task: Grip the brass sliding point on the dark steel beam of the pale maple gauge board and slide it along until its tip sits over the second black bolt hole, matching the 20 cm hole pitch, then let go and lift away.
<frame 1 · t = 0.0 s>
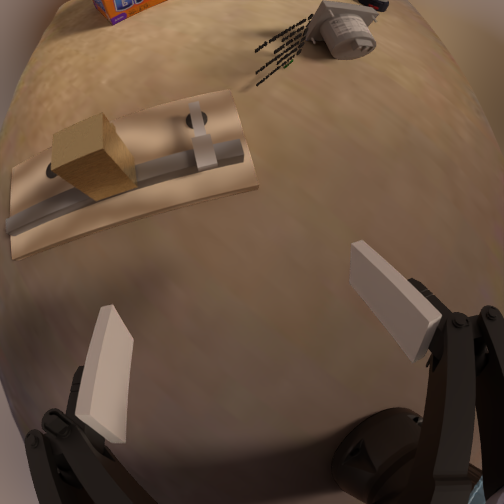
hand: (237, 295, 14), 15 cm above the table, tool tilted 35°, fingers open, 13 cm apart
humidifier: (370, 3, 39), on the table
game box: (135, 0, 34), on the table
gauge board: (109, 173, 29), on the table
brass sliding point: (100, 145, 22), point 7 cm above the table, slide at 0.0 cm
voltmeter: (309, 61, 34), on the table
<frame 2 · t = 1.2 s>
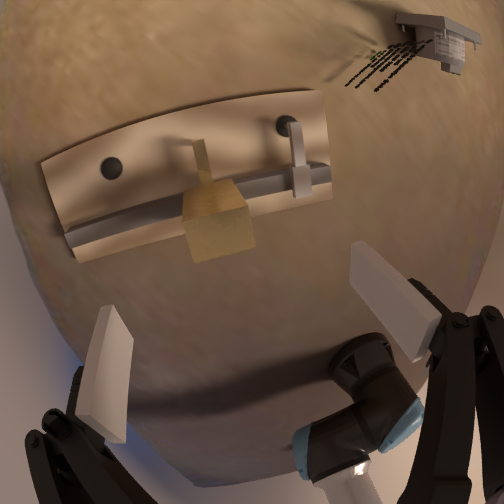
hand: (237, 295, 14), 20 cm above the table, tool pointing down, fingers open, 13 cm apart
gauge board: (186, 170, 30), on the table
brass sliding point: (208, 187, 24), point 7 cm above the table, slide at 0.0 cm
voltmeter: (393, 51, 27), on the table
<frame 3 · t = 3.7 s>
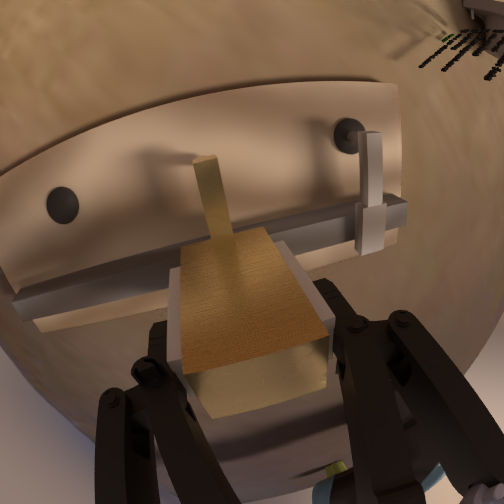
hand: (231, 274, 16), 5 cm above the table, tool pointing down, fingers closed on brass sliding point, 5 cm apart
plant pot: (333, 463, 68), on the table
gauge board: (184, 204, 18), on the table
brass sliding point: (228, 258, 13), point 7 cm above the table, slide at 0.0 cm, touching gripper
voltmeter: (462, 39, 15), on the table
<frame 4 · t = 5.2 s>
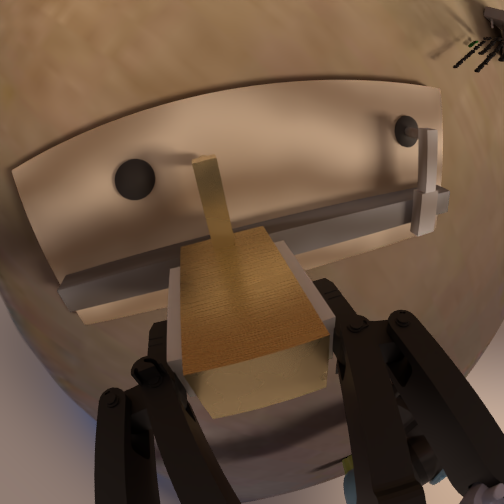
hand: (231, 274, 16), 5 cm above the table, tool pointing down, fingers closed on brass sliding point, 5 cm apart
plant pot: (349, 456, 69), on the table
gauge board: (262, 185, 19), on the table
brass sliding point: (228, 258, 13), point 7 cm above the table, slide at 5.6 cm, touching gripper
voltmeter: (483, 45, 15), on the table
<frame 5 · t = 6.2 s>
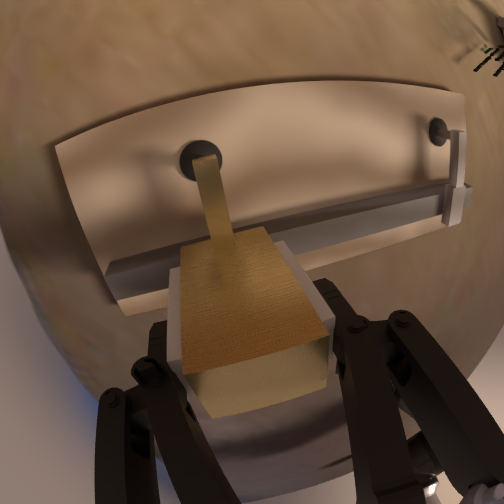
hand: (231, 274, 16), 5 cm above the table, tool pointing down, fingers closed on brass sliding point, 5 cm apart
gauge board: (316, 175, 19), on the table
brass sliding point: (228, 258, 13), point 7 cm above the table, slide at 9.8 cm, touching gripper
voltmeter: (496, 52, 15), on the table
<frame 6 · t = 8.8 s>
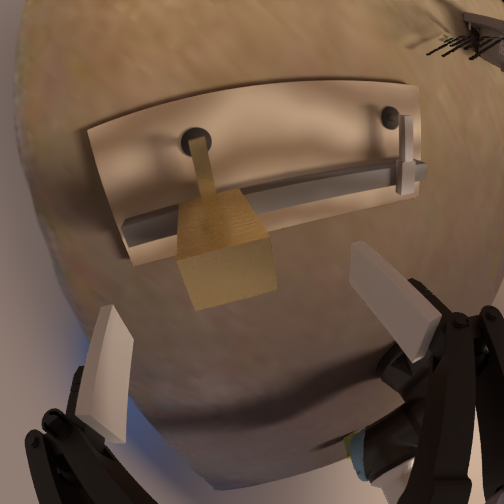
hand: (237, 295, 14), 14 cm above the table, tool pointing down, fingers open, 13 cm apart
plant pot: (350, 434, 76), on the table
gauge board: (285, 154, 25), on the table
brass sliding point: (211, 203, 18), point 7 cm above the table, slide at 10.0 cm
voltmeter: (460, 43, 21), on the table
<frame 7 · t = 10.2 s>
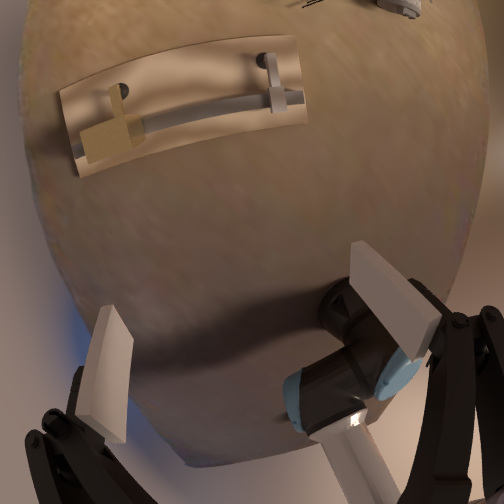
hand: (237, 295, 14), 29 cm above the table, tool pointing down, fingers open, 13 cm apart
gauge board: (181, 95, 32), on the table
brass sliding point: (113, 116, 25), point 7 cm above the table, slide at 10.0 cm
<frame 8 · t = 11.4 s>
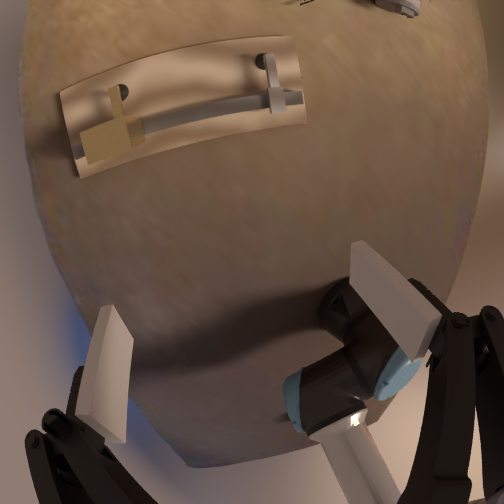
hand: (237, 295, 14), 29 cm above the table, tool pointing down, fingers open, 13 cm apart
gauge board: (180, 96, 32), on the table
brass sliding point: (113, 117, 25), point 7 cm above the table, slide at 10.0 cm
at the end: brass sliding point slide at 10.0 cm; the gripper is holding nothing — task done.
